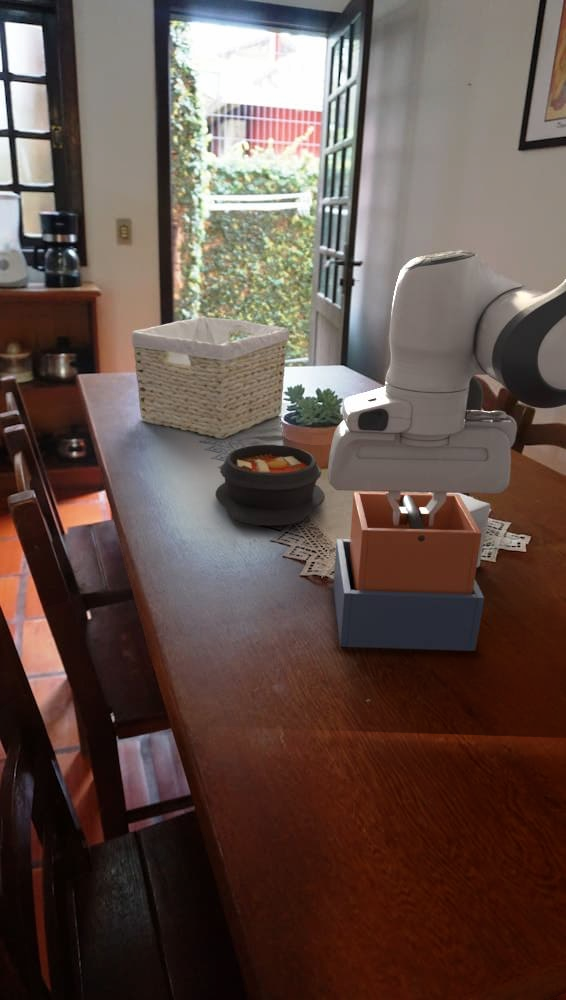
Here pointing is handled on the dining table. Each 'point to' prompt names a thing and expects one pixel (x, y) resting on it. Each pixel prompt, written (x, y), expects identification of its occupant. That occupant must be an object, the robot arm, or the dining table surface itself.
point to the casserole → (270, 485)
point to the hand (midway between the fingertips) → (412, 524)
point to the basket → (210, 374)
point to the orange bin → (413, 546)
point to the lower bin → (403, 614)
